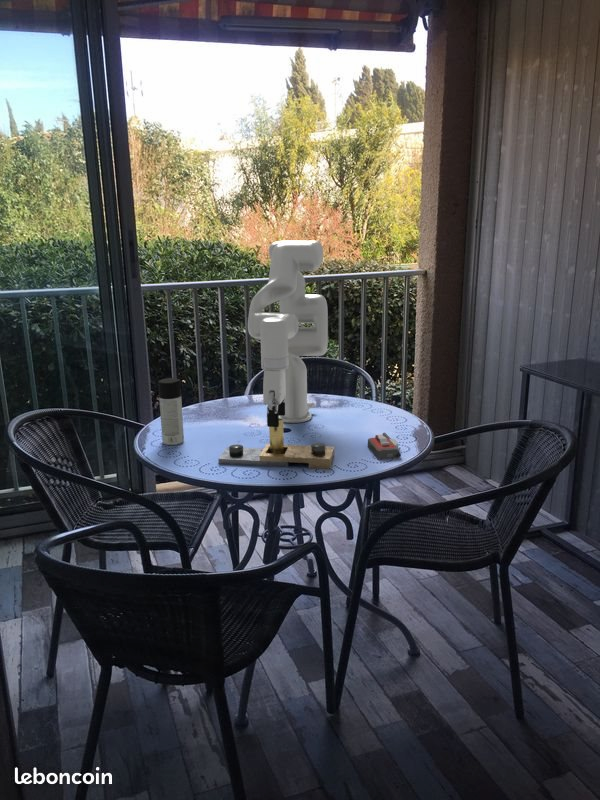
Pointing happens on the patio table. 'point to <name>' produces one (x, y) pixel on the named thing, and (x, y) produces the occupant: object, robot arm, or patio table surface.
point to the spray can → (171, 411)
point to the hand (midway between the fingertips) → (276, 420)
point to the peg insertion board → (280, 456)
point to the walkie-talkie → (384, 447)
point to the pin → (277, 439)
